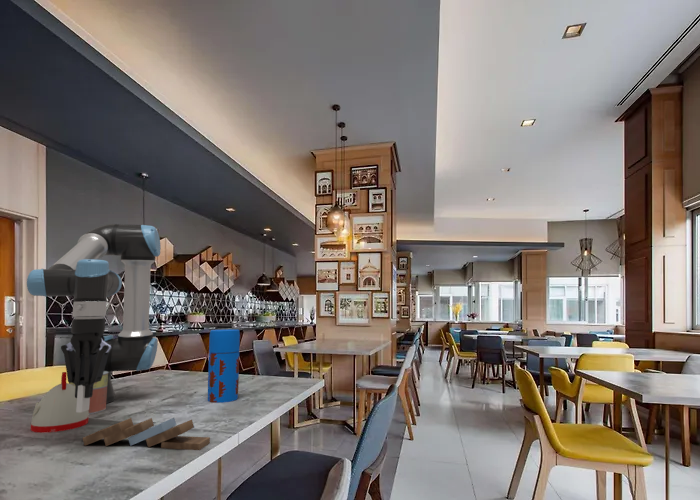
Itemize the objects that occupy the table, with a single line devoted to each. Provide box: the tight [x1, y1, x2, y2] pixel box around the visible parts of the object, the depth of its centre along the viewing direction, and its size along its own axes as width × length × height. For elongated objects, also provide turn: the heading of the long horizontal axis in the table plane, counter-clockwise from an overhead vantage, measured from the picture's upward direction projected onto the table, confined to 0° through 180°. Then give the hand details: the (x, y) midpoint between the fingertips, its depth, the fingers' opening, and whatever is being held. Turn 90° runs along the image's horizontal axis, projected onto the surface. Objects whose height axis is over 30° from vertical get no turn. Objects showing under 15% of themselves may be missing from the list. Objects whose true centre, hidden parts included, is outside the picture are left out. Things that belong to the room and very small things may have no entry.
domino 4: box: [145, 419, 195, 448], centre depth 103 cm, size 2×5×10 cm
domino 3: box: [127, 417, 177, 446], centre depth 105 cm, size 2×5×10 cm
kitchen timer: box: [30, 371, 90, 434], centre depth 123 cm, size 14×14×15 cm
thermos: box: [207, 329, 241, 404], centre depth 155 cm, size 11×11×25 cm
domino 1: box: [82, 417, 134, 446], centre depth 106 cm, size 2×5×10 cm
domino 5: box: [160, 435, 211, 451], centre depth 103 cm, size 2×5×10 cm
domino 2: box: [103, 417, 155, 447], centre depth 105 cm, size 2×5×10 cm
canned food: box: [68, 371, 109, 415], centre depth 139 cm, size 11×11×12 cm
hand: (82, 410), depth 107 cm, fingers closed
